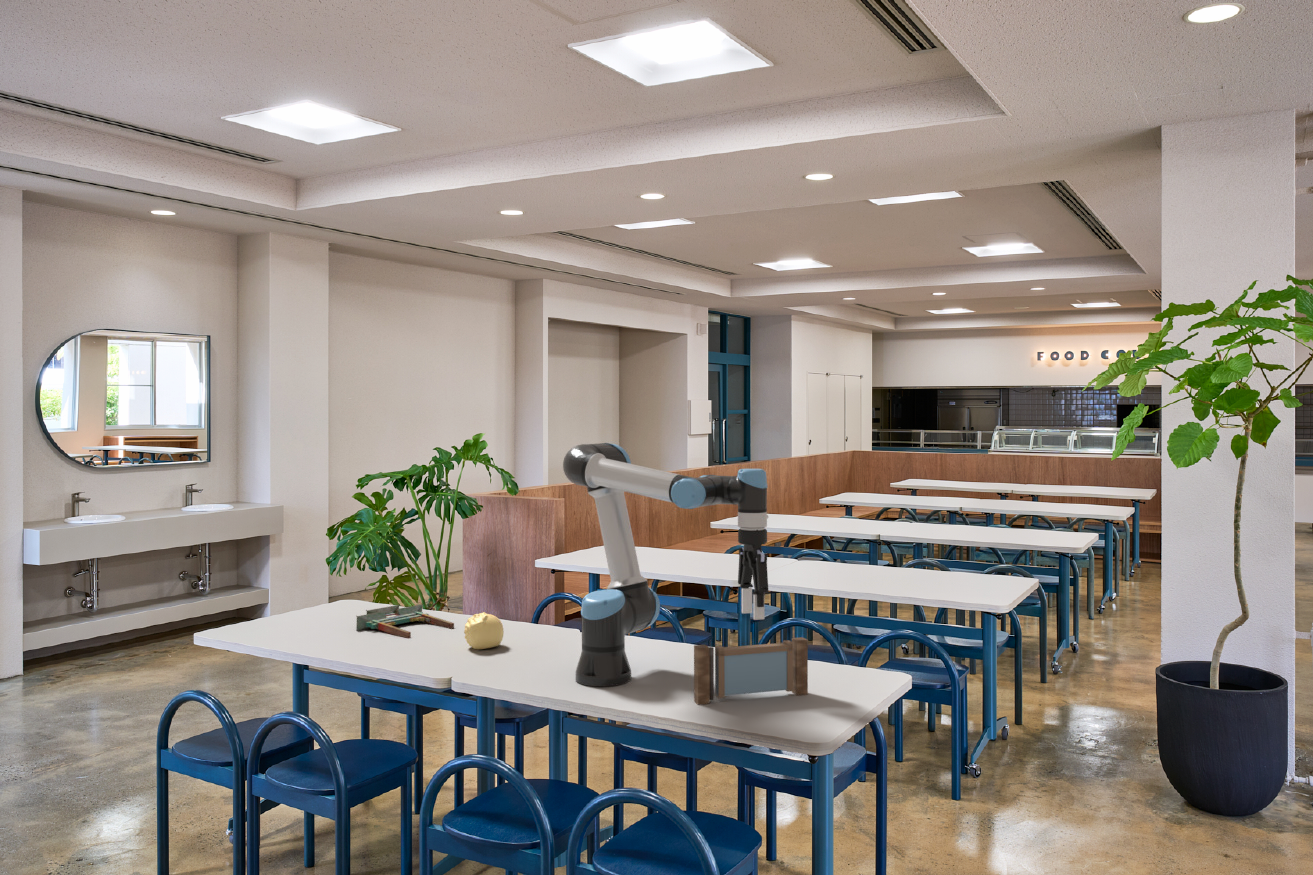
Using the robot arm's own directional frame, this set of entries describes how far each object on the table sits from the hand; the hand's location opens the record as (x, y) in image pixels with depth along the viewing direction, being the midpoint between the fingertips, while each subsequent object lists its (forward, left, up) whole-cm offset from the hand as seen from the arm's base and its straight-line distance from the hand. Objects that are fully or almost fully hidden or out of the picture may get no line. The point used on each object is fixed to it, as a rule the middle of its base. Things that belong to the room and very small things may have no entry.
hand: (752, 615), depth 248 cm
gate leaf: (+7, -2, -18) cm, 19 cm away
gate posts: (+7, -3, -19) cm, 21 cm away
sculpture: (-68, -62, -19) cm, 94 cm away
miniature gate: (-106, -85, -20) cm, 137 cm away
